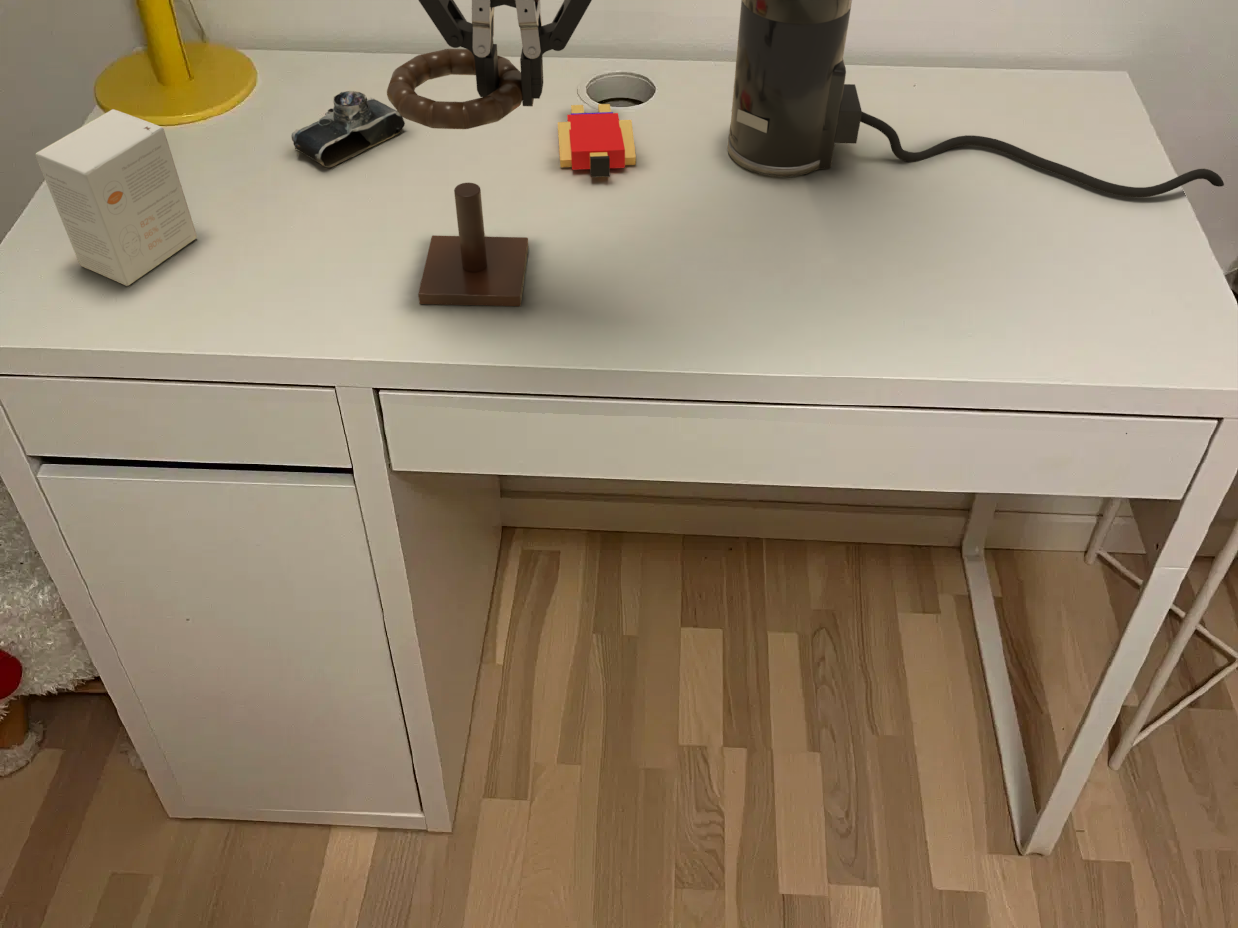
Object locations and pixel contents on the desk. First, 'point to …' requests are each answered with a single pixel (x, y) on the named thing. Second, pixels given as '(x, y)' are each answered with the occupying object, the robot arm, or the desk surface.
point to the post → (473, 261)
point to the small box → (118, 195)
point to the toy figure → (596, 141)
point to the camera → (348, 129)
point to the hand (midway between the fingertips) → (511, 100)
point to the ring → (452, 112)
